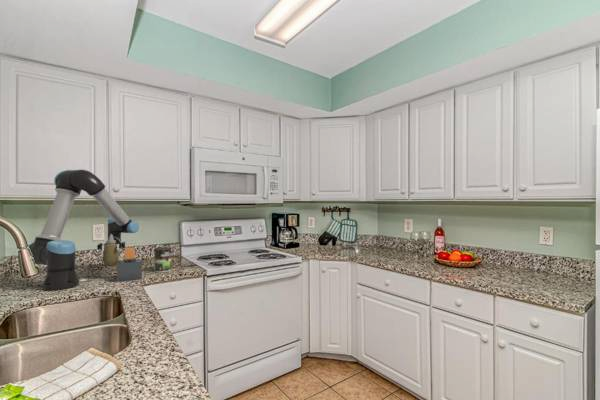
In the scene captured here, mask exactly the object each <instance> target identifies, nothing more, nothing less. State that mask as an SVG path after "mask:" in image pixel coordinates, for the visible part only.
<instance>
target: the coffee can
mask: <svg viewBox="0 0 600 400" xmlns="http://www.w3.org/2000/svg"><path fill="white" fill-rule="evenodd" d="M172 249H173V248H172V247H168V246H167V247H156V248H154V249H153V272H154V273H167V272H171V271H172V270H173V269H172Z"/></svg>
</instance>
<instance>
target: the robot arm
mask: <svg viewBox="0 0 600 400" xmlns="http://www.w3.org/2000/svg"><path fill="white" fill-rule="evenodd" d="M53 182H54V184H55V185H54V186H55V188H54V190H55V192H56V196H55V197H54V200H53V203H52V205H51V208H50V210H49V213H48V215H47V218H46V220H45V223H44V225H43V229H42V230H41V233H40V234H38V236H35V238H34V241H33V242H31V243H30V244H28V246H29V248H30V250H31V252H32V254H33V257H34V260H35V263H36V264H35V263H34V264H35V265H44V266H46V274H45V278H44V280H43V282H42V286H41V287H42V290H43V291H58V290H59V291H60V290H65V289H70V288H74V287H77V286H79V285H80V278H79V276H78V273H77V271H76V250H77V249H76V244H75V242H74V241H71V240H65V239H64V240H62V239H61V237H62V234H63V232H64V229H65V227H66V224H67V221H68V218H69V216H70V214H71V210H72V208H73V206H74V205H73V204H74V203H75V200H76V199H77V198H78V197H79V196H81V192H82V191H83V192H84V193H85V192H86V194H87V195H88V196H89V197H93V198H94V200H96V202H97V203H98V205H100V206H101V207H102V208H103V209H104V211H105V212H106V213H107V214H108V215H109V217H110V218H108V220H107V240H106V241H108V240H109V236H110V234H112V235H113V239H114V240H116V243H115V244H117V250H118V251H119V250H120V249H125V248H126V242H125V241H123V242H122V233H123V234H136V233H137V232H138V231H139V229H140V224H139V223H138V221H134V220H133V221H132V219H131V218H130V217H129V216H128V214H127V213H126V211H124V209H123V208H122V207H121V206H120V205H119V204H118V202H117V201H116V200H115V199H114V197H112V195H111V194H110V193H109V191H108V190H107V189H106V184H105V183H103V181H102V180H101V179H100V178H99V177H98V176H97V175H95V174H94V173H93V172H91V171H90V170H86V169H68V170H67V169H66V170H62V171H59V173H57V174H56V175H55V177H54V180H53ZM104 245H106V242H105V243H102V242H99V243H98V244H97V245H96V248H97V249H96V250H100V251H101V252H104Z"/></svg>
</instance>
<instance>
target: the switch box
mask: <svg viewBox="0 0 600 400" xmlns="http://www.w3.org/2000/svg"><path fill="white" fill-rule="evenodd" d="M142 279H143V260H142V258H136V260H130V261H124V260H118V262H117V265H116V282H117V283H119V282H128V281H136V280H142Z"/></svg>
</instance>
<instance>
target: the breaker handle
mask: <svg viewBox="0 0 600 400" xmlns="http://www.w3.org/2000/svg"><path fill="white" fill-rule="evenodd" d="M136 259H137V257H136V247H125V248H124V258H123V261H130V260H136Z"/></svg>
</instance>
